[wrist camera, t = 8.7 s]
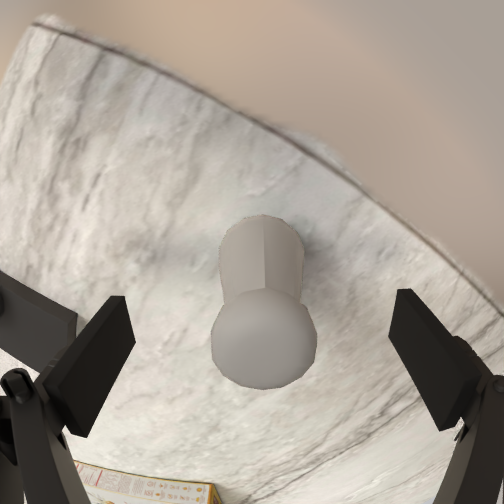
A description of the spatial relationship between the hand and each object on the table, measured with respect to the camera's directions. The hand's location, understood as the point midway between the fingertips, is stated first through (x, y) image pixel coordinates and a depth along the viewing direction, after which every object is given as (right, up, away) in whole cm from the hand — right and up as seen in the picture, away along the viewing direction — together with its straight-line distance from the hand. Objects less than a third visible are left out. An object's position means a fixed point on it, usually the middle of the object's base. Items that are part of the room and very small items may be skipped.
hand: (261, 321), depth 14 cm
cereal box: (-19, -41, +26) cm, 52 cm away
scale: (-25, -5, +13) cm, 29 cm away
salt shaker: (0, +4, +9) cm, 10 cm away
